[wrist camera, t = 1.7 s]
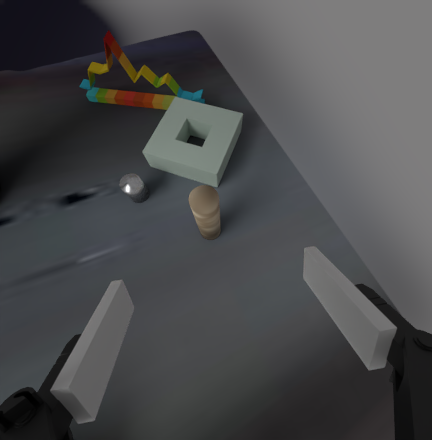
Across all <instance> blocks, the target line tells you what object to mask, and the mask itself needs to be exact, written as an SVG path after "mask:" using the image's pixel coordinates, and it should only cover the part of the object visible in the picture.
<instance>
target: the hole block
mask: <svg viewBox="0 0 432 440" xmlns="http://www.w3.org/2000/svg"><path fill="white" fill-rule="evenodd" d="M242 118H243V113H239V112H235V111H231V110H227V109H223V108H219V107H215V106H211V105H207V104H203V103H199V102H195V101H191V100H187V99H183V98H179V97H175V98H174V99H173V101H172V103H171V105H170V106H169V108H168V110H167V111H166V113H165V115H164V116H163V118H162V120H161V121H160V123H159V125H158V126H157V128H156V130H155V131H154V133H153V135H152V137H151V138H150V140H149V142H148V143H147V145H146V147H145V148H144V150H143V154H144V156H145V158H146V159H147V161H148V163H149V165H150V166H151V167H153V168H156V169H160V170H163V171H166V172H169V173H172V174H176V175H179V176H182V177H185V178H188V179H192V180H195V181H198V182H201V183H204V184H208V185H211V186H214V187H217V188H218V185H219V183H220V181H221V178H222V176H223V173H224V171H225V169H226V166H227V164H228V161H229V159H230V157H231V154H232V152H233V150H234V147H235V145H236V142H237V140H238V138H239V135H240V133H241V128H242ZM190 135H191V136H195V137H198V138H202V139H206V140H205V142H204V144H203V146H202V147H200V146H196V145H193V144H189V143H187V141H188V139H189V137H190Z"/></svg>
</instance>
